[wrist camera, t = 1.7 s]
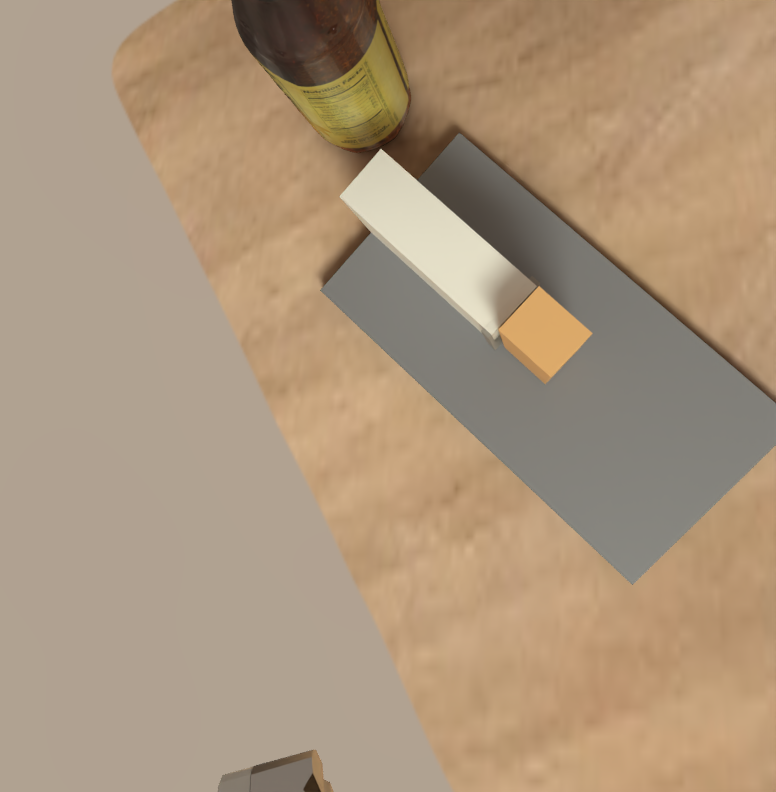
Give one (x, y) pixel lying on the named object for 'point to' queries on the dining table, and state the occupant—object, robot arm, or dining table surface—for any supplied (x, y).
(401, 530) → the dining table surface
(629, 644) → the dining table surface
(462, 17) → the dining table surface
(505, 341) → the tan wooden beam
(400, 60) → the sauce bottle
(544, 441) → the grey base plate
